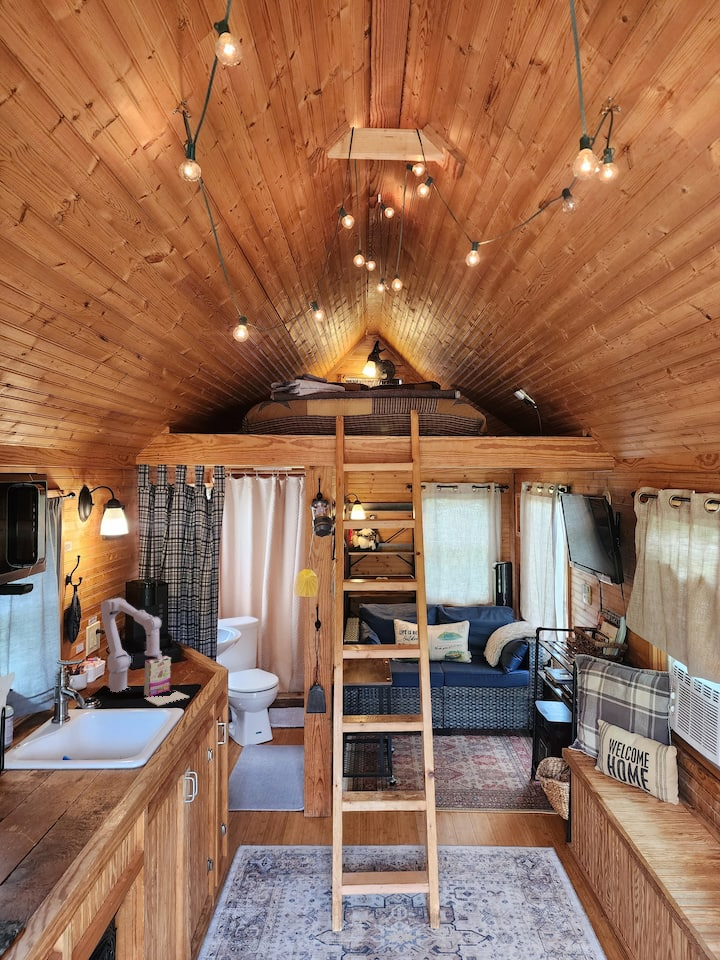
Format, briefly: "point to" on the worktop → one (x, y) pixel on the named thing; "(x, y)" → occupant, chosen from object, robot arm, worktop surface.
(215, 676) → the worktop surface
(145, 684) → the candy bar box
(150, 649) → the robot arm
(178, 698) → the mat
